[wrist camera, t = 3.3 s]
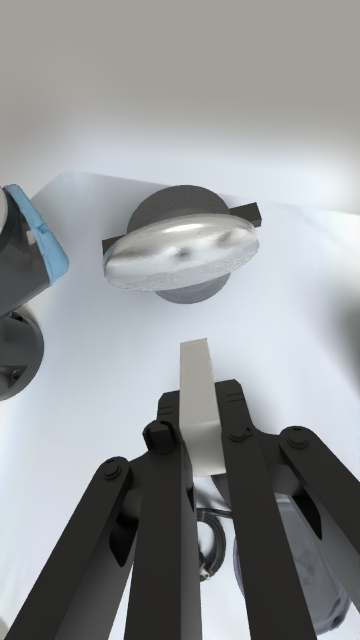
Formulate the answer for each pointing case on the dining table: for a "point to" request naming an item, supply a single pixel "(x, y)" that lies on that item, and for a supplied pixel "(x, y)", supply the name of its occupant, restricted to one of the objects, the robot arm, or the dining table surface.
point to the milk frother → (312, 567)
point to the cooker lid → (180, 252)
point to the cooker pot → (182, 204)
